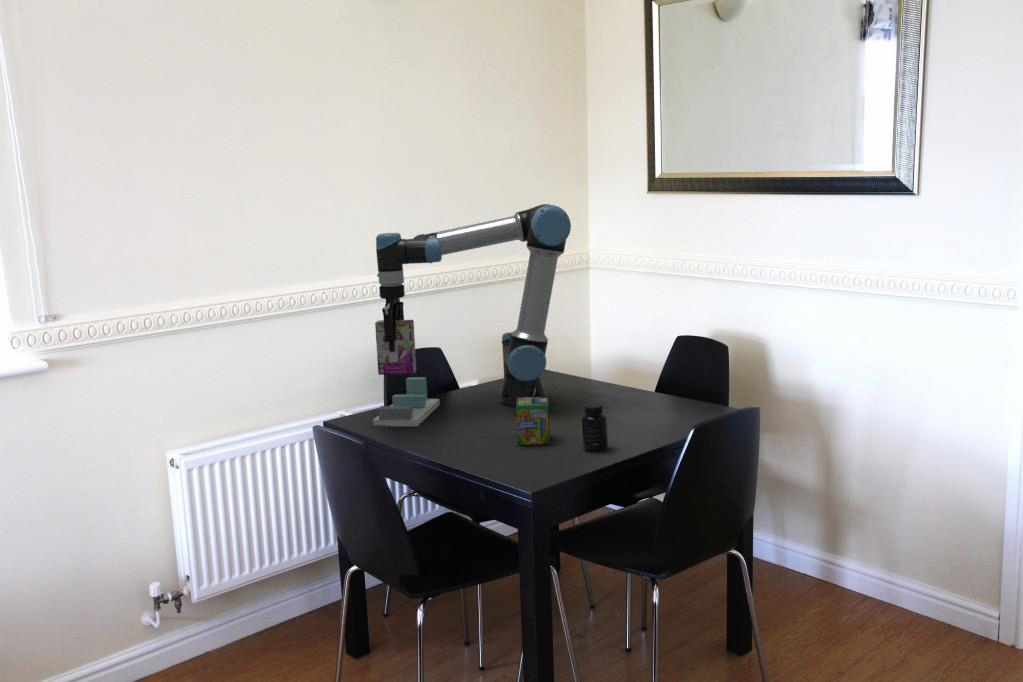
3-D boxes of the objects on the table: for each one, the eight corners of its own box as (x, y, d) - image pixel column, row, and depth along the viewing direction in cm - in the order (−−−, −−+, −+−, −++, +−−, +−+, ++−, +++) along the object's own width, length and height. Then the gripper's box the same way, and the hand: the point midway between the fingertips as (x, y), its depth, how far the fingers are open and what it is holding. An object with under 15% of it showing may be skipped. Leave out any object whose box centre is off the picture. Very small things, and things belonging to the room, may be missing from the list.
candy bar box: (377, 375, 285) (374, 322, 282) (381, 372, 289) (378, 319, 287) (413, 374, 283) (410, 321, 280) (417, 371, 288) (413, 318, 285)
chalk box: (517, 436, 266) (515, 386, 263) (550, 435, 266) (547, 384, 263) (517, 446, 257) (514, 394, 254) (550, 444, 256) (548, 392, 254)
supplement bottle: (582, 445, 255) (581, 402, 252) (608, 444, 254) (606, 402, 252) (582, 452, 248) (580, 409, 246) (608, 452, 247) (606, 408, 245)
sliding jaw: (404, 398, 308) (402, 377, 307) (433, 398, 306) (431, 377, 305) (392, 407, 297) (391, 386, 295) (423, 407, 295) (421, 385, 293)
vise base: (398, 404, 309) (397, 388, 308) (439, 404, 306) (438, 388, 305) (373, 426, 284) (372, 408, 283) (417, 426, 282) (416, 408, 281)
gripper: (389, 280, 291) (394, 353, 295) (369, 288, 273) (375, 366, 278) (412, 280, 289) (417, 353, 294) (394, 288, 272) (399, 366, 276)
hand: (396, 359), depth 286 cm, fingers closed on candy bar box, 5 cm apart
